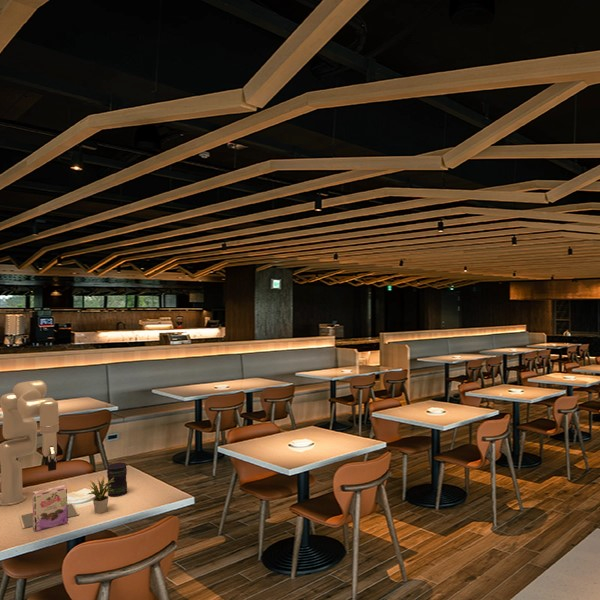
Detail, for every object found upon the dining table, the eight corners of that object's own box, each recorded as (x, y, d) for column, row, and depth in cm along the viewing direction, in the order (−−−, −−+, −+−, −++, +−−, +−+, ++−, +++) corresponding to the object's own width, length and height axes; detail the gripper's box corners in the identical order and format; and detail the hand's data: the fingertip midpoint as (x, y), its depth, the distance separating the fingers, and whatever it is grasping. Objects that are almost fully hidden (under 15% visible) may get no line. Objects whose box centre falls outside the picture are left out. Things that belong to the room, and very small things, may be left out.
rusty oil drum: (130, 490, 272) (129, 462, 272) (122, 497, 262) (121, 468, 262) (112, 490, 272) (112, 462, 273) (104, 497, 263) (103, 468, 263)
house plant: (120, 513, 241) (119, 479, 241) (89, 520, 234) (88, 485, 234) (115, 503, 253) (114, 471, 254) (85, 509, 247) (84, 476, 247)
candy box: (34, 532, 224) (33, 495, 224) (32, 527, 228) (31, 491, 229) (68, 523, 232) (67, 487, 232) (65, 519, 237) (64, 484, 237)
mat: (19, 516, 241) (19, 515, 241) (73, 504, 254) (73, 503, 254) (22, 529, 227) (22, 528, 227) (79, 515, 240) (79, 514, 240)
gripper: (37, 426, 228) (38, 464, 228) (42, 434, 214) (43, 474, 214) (55, 424, 233) (57, 461, 232) (61, 431, 218) (63, 470, 218)
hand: (50, 467), depth 223 cm, fingers open, 9 cm apart
